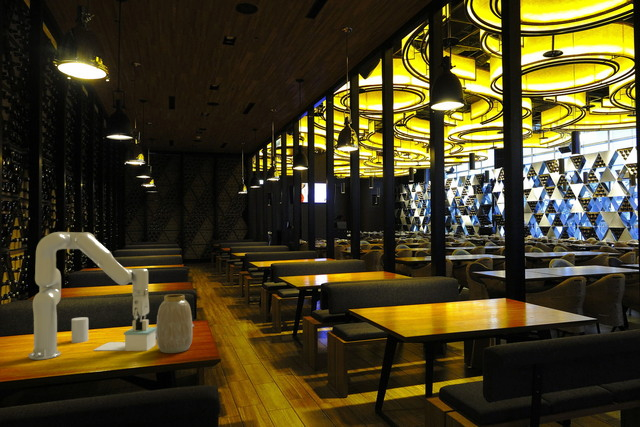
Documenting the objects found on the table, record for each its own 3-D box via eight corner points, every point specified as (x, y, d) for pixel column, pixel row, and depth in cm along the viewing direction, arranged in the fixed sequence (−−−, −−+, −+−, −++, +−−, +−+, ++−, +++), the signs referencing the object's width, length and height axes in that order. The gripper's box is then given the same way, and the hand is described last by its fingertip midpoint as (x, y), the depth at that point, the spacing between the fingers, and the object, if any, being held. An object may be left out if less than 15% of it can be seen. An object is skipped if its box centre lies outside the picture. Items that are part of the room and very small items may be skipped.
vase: (199, 346, 237) (198, 293, 238) (180, 355, 220) (180, 298, 221) (169, 344, 242) (169, 292, 242) (149, 353, 225) (148, 297, 226)
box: (146, 350, 230) (146, 334, 230) (125, 350, 230) (125, 334, 230) (155, 344, 241) (155, 329, 241) (134, 345, 241) (134, 329, 241)
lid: (147, 337, 230) (147, 322, 230) (123, 337, 230) (123, 322, 230) (156, 331, 242) (156, 317, 242) (134, 331, 242) (134, 317, 242)
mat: (123, 350, 230) (123, 349, 230) (93, 350, 231) (93, 349, 231) (136, 343, 245) (136, 342, 245) (108, 343, 246) (108, 342, 246)
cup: (91, 339, 256) (91, 317, 256) (82, 342, 247) (82, 320, 248) (77, 339, 256) (77, 317, 257) (68, 342, 248) (68, 320, 249)
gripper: (141, 295, 228) (141, 332, 228) (154, 290, 244) (154, 325, 244) (126, 295, 228) (126, 332, 228) (140, 290, 245) (140, 325, 244)
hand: (140, 328), depth 236 cm, fingers closed on lid, 3 cm apart
